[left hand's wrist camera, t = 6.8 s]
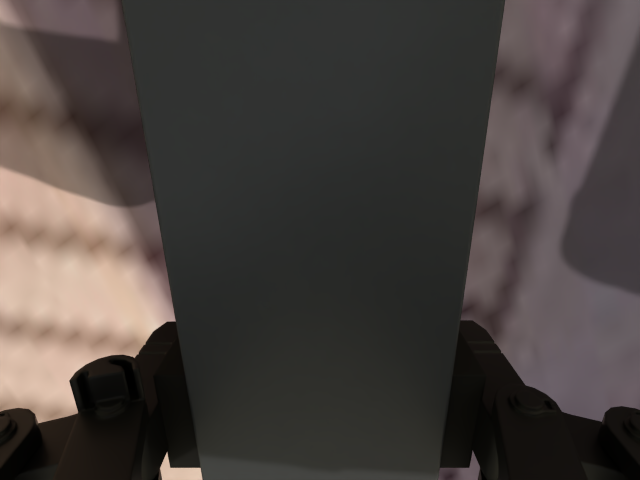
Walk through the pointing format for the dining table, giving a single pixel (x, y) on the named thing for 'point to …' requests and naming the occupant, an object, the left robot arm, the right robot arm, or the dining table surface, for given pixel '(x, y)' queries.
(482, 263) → the dining table surface
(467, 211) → the bar
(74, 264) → the dining table surface
